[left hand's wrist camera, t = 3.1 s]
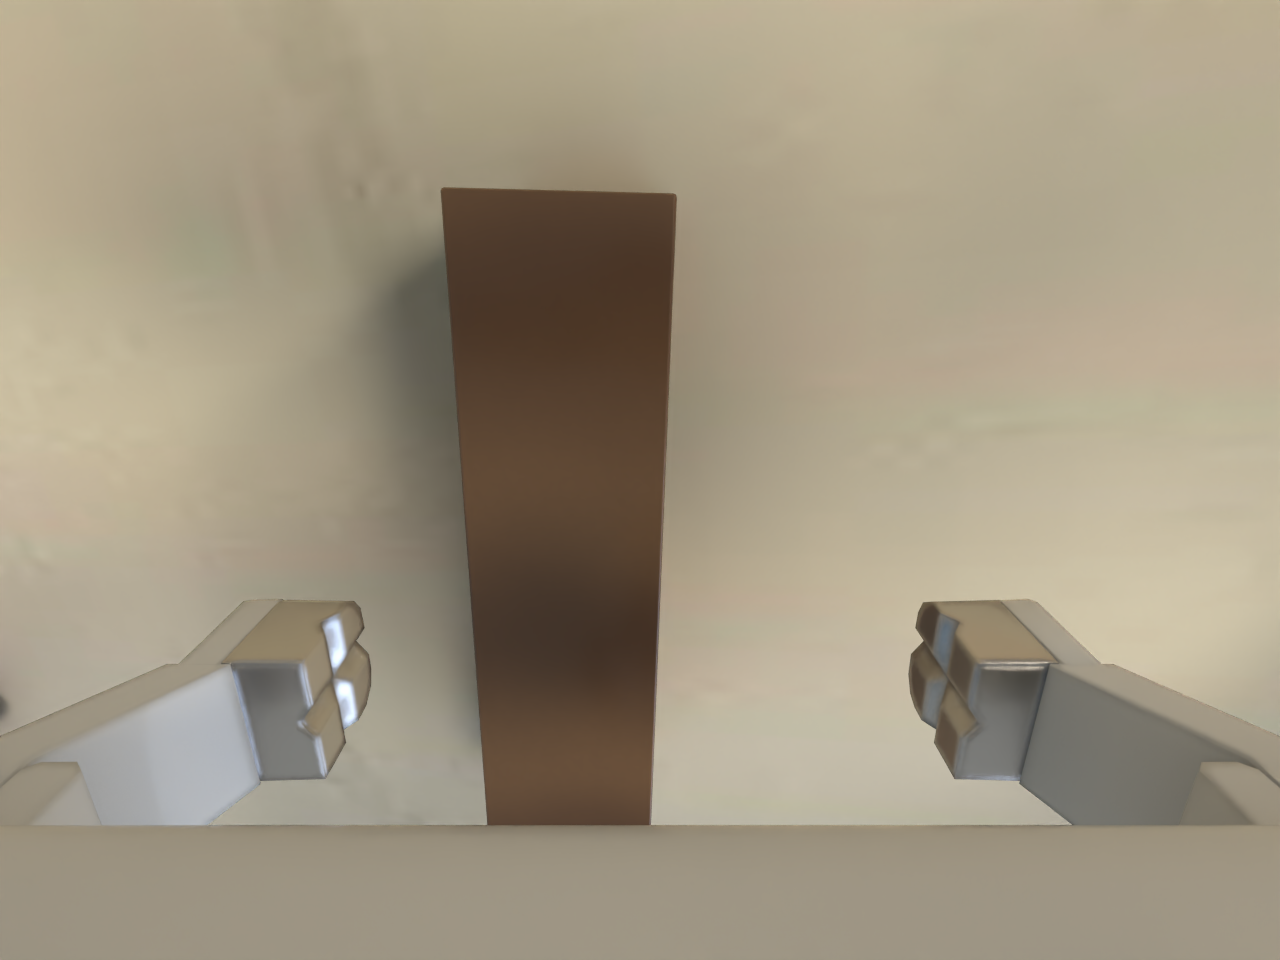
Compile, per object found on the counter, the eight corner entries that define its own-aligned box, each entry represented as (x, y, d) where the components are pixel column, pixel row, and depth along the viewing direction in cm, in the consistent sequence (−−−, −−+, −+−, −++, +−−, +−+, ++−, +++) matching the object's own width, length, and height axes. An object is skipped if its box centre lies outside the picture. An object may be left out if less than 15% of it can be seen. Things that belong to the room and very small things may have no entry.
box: (515, 195, 28) (439, 187, 18) (669, 199, 28) (677, 193, 18) (536, 740, 38) (494, 926, 28) (648, 744, 38) (646, 932, 28)
